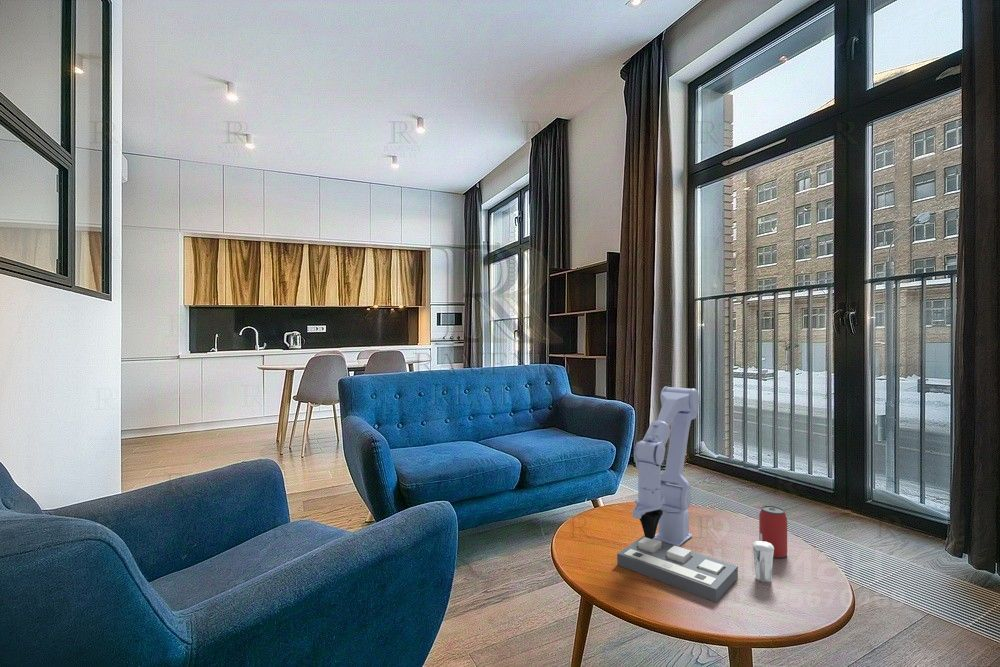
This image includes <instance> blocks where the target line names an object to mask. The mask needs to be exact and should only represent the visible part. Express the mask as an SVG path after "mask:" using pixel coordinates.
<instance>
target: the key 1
mask: <svg viewBox="0 0 1000 667" xmlns="http://www.w3.org/2000/svg"><path fill="white" fill-rule="evenodd" d="M661 542H662V541H659V540H656V539H649V538H646V537H644V538H643V539H641V540H640V541H638V548H640V549H643V550H646V551H648V552H651V553H654V554H655V553H656V552H657V551H659V550H660V549H661V548H662V547H661Z"/></svg>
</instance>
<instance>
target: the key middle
mask: <svg viewBox="0 0 1000 667" xmlns="http://www.w3.org/2000/svg"><path fill="white" fill-rule="evenodd" d="M691 551H692V550H690V549H686V548H684V547H681V546H675V545H673V547H672V548H670V549H669V550H668V551H667V558H669V559H672V560H675V561H678V562H681V563H683V564H685V563H686V562H688V561H689V560H690V559H691Z"/></svg>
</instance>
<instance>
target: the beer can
mask: <svg viewBox="0 0 1000 667" xmlns="http://www.w3.org/2000/svg"><path fill="white" fill-rule="evenodd" d="M758 520H759V521H758V522H759V524H758V525H759V527H758V528H759V529H758V530H759V531H758V533H759V536H758V537H759V540H758V541H760V533H761V534H762V541H764V542H768V543H771V544H772V545H773V547H774V554H773V559H774V558H775V559H781V558H785V557H786V556H788V518H787V515H786V511H785V509H784V508H782V507H779V506H776V505H768V504H767V505H763V506H761V510H760V512H759V515H758Z"/></svg>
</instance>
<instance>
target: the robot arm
mask: <svg viewBox="0 0 1000 667" xmlns="http://www.w3.org/2000/svg"><path fill="white" fill-rule="evenodd" d="M660 403H661V404H660V405H661V406H660V407H661V408H660V411H659V414H658V416H657V419H656V420H653V421H652V422H651V423H650V425H649V426H648V429H647V431H645V434H644V437H643V438H642V440H639V441H637V442H636V443H635V446H634V452H633V459H634V460H635V467H636V469H637V487H638V488H637V489H638V490H637V491H638V492H637V498H636V499H634V504H636V505H635V507H634V508H633V509H632V518H634V519H638V520H639V521H640V524H641V526H642V527H641V528H642V530H643V534H644V535H643V536H645V537H646V538H649V539H656V540H659V541H661V542H664V543H667V544H670V545H673V546H674V545H675V546H678V547H681V545H683V544H684V543H685V542H687V541H688V540H689V539H690V538H692V537H693V534H691V533H690V515H689V510H688V509H689V508H690V505H691V502H692V493H691V491H692V486H691V484H690V482H689V481H688V479H686V478H685V476H684V475H683V474H684V467H685V460H686V453H687V449H688V447H687V446H688V442H689V441H688V440H689V434H690V433H689V432H690V427H691V422H692V420H695V419H697V417H698V412H699V406H700V394H699V391H698V390H697V389H696V387H695V388H689V387H688V388H685V387H672V386H668V385H667V386H664V387H662V389H661V391H660ZM671 424H672V426H671ZM670 426H671V428H670ZM669 437H670V439H669ZM668 440H669V445H668V450H667V451H668V452H667V457H666V465H665V469H664V470H665V471H663V473H661V465H662V464H663V462H664V460H665V455H666V454H665V453H666V449H667V448H666V444H667V442H668ZM657 531H658V532H657Z"/></svg>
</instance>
